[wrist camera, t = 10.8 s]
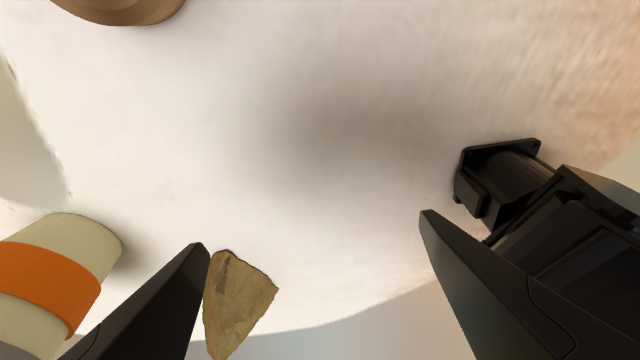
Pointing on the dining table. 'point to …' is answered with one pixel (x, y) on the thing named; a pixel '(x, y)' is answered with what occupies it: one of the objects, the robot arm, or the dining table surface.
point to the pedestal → (122, 11)
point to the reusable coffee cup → (51, 282)
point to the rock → (233, 303)
